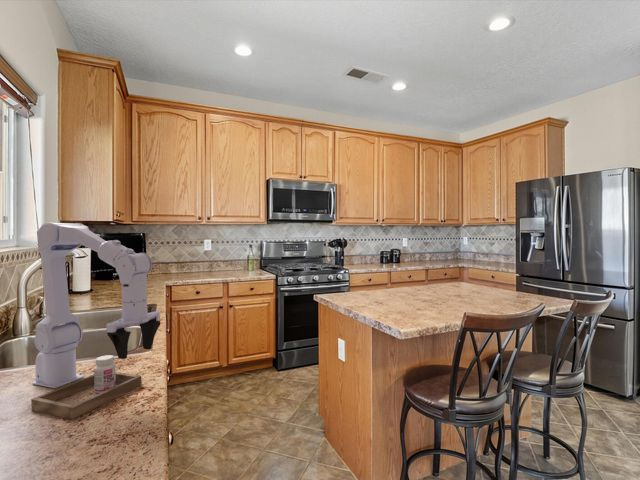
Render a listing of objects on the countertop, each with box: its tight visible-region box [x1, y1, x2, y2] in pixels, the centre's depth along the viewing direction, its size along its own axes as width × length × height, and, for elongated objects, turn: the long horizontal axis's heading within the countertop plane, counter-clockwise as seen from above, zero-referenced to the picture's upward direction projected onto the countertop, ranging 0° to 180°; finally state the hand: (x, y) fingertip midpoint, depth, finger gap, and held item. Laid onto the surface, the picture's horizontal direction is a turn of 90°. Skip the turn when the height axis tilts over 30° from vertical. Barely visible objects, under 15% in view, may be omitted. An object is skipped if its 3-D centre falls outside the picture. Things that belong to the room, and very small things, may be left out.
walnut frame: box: [30, 371, 142, 420], centre depth 88 cm, size 14×18×2 cm
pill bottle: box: [93, 354, 117, 394], centre depth 92 cm, size 5×5×8 cm
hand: (135, 353), depth 90 cm, fingers open, 7 cm apart
